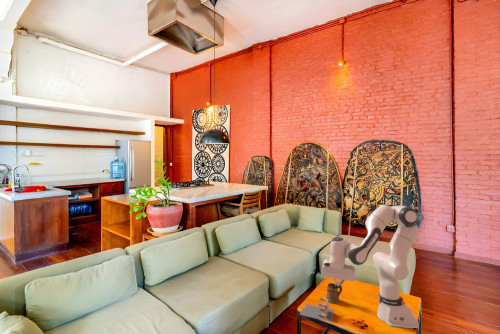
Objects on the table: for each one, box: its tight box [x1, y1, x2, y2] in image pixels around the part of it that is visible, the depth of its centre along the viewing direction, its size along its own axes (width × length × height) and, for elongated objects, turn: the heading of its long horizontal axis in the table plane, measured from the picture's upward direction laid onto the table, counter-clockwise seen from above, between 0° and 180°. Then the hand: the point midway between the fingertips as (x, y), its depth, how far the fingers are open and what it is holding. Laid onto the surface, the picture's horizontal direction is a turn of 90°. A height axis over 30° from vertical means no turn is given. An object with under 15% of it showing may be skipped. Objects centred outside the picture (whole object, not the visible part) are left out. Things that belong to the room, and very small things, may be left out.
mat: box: [299, 303, 335, 323], centre depth 167 cm, size 20×14×1 cm
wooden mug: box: [325, 280, 346, 304], centre depth 180 cm, size 9×14×18 cm, turn 72°
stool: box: [317, 297, 329, 318], centre depth 165 cm, size 6×8×8 cm
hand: (337, 285), depth 161 cm, fingers closed
